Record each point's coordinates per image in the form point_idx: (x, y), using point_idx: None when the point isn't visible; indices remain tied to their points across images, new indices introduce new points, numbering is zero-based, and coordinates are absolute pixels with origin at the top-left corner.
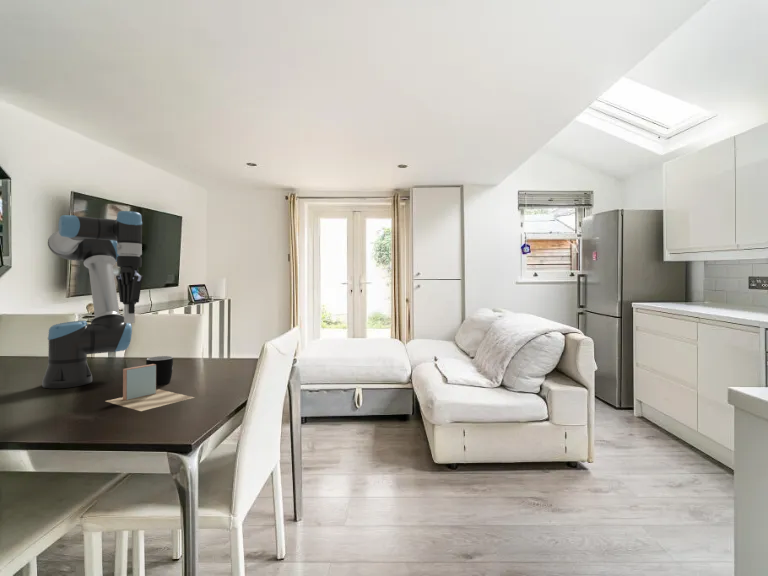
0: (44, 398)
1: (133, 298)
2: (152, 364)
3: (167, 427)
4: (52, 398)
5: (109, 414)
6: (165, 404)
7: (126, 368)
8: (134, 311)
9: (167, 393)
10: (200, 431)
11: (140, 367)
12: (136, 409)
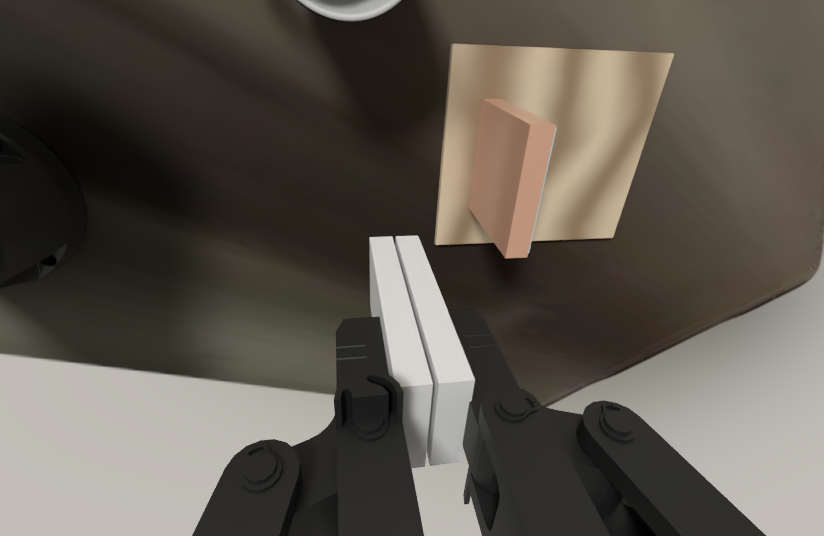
0: (219, 315)
1: (649, 527)
2: (538, 134)
3: (734, 253)
4: (239, 303)
5: (543, 279)
6: (632, 166)
7: (510, 247)
8: (487, 326)
9: (539, 71)
10: (813, 231)
11: (538, 201)
12: (591, 236)
